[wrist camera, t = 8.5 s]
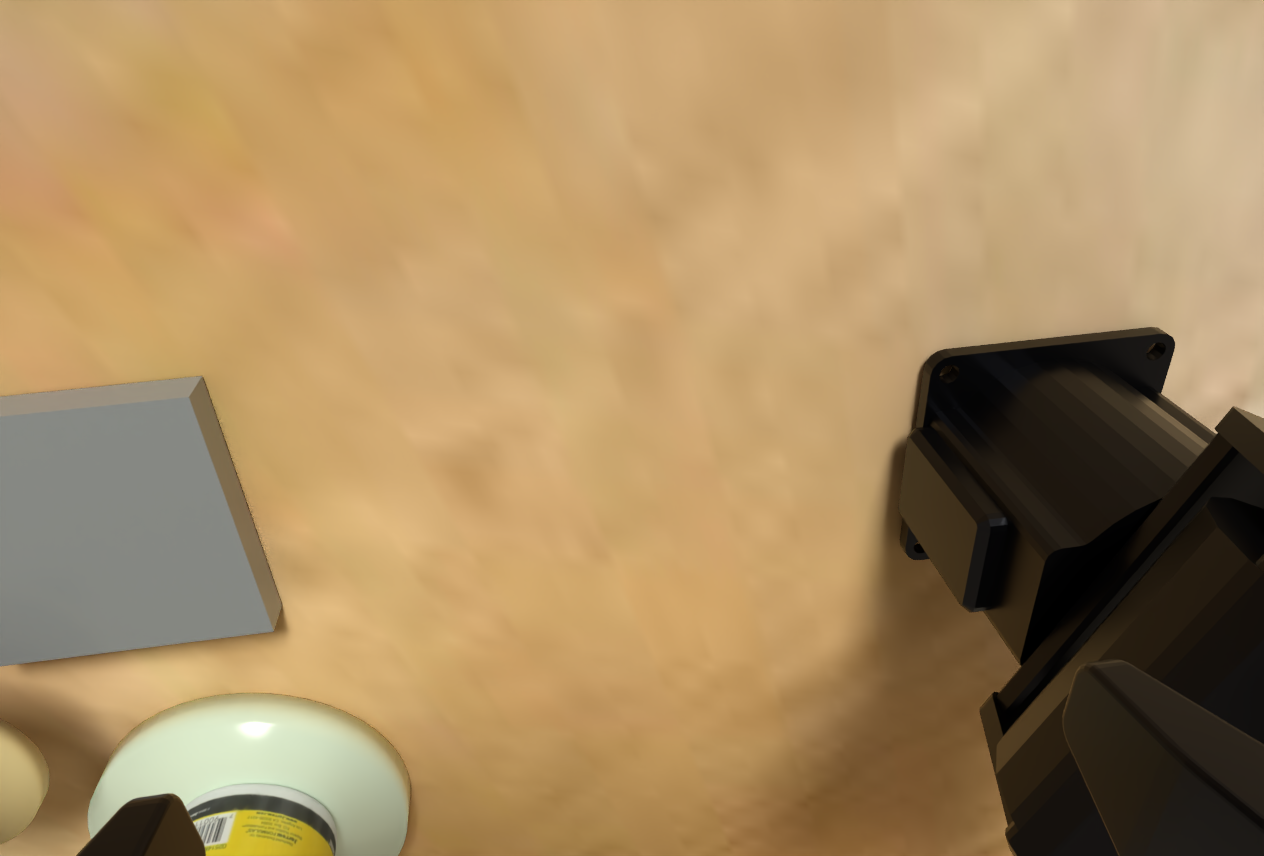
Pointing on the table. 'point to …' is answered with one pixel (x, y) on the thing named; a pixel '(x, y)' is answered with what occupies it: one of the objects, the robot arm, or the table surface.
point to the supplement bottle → (262, 822)
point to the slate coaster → (123, 524)
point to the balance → (19, 781)
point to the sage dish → (266, 763)
